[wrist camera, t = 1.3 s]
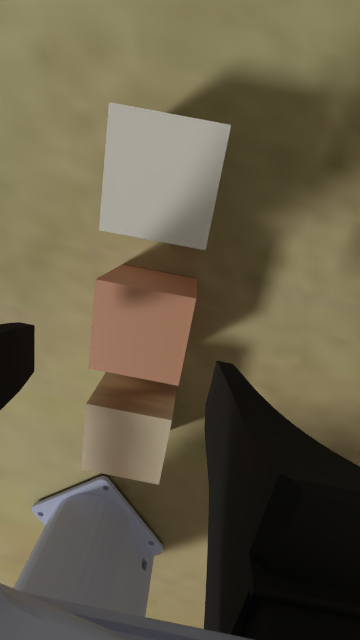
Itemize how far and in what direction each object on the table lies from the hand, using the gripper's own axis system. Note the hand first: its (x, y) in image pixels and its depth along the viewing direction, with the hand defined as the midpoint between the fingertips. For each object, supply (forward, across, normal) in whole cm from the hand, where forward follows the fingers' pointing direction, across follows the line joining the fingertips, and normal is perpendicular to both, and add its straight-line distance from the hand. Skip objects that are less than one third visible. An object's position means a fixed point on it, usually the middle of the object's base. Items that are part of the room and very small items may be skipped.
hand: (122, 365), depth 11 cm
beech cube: (+8, 0, +7) cm, 11 cm away
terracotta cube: (+8, 0, 0) cm, 8 cm away
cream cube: (+8, 0, -7) cm, 11 cm away
